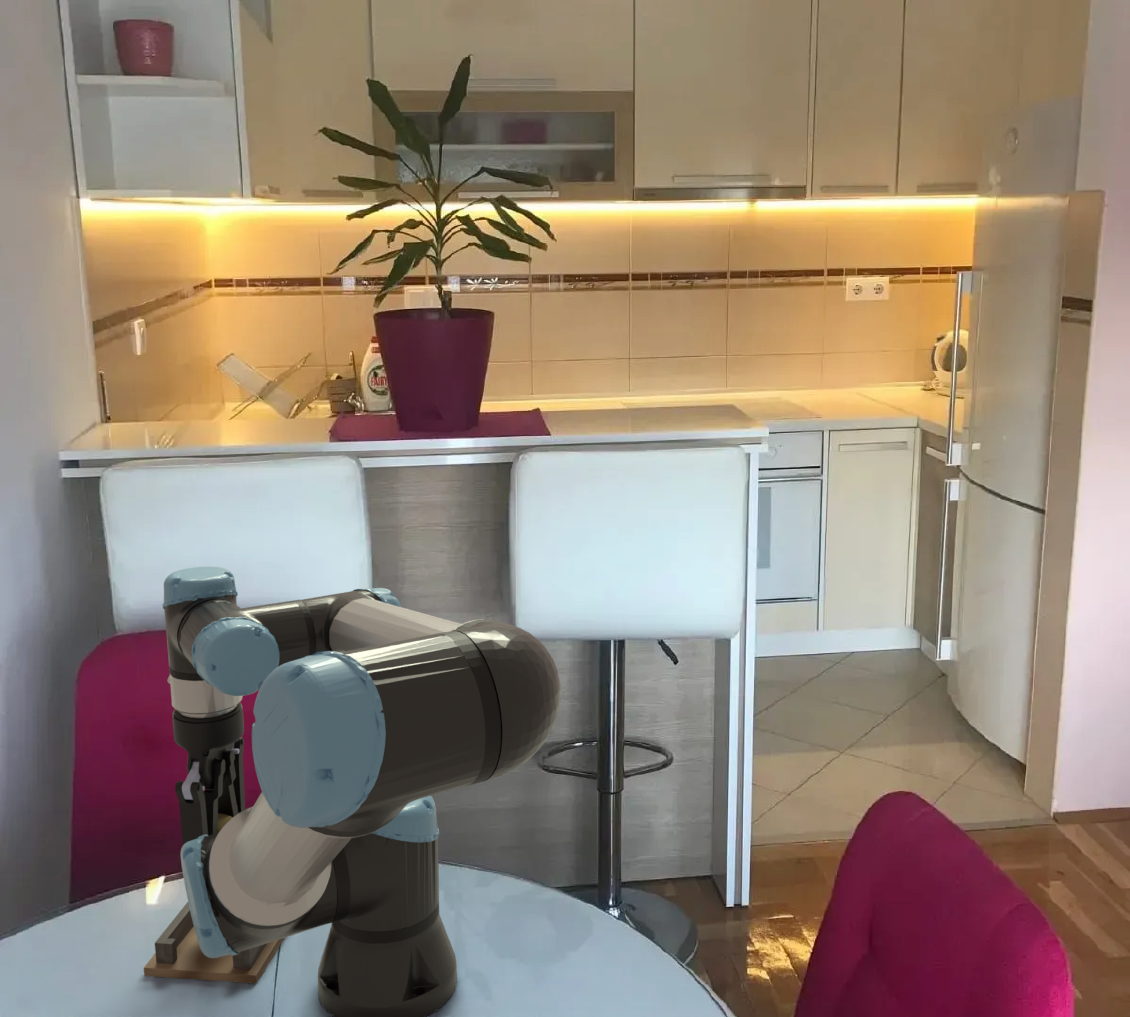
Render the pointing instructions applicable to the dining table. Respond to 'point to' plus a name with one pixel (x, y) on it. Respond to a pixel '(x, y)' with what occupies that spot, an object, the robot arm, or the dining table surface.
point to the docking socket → (187, 961)
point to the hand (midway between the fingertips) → (220, 895)
